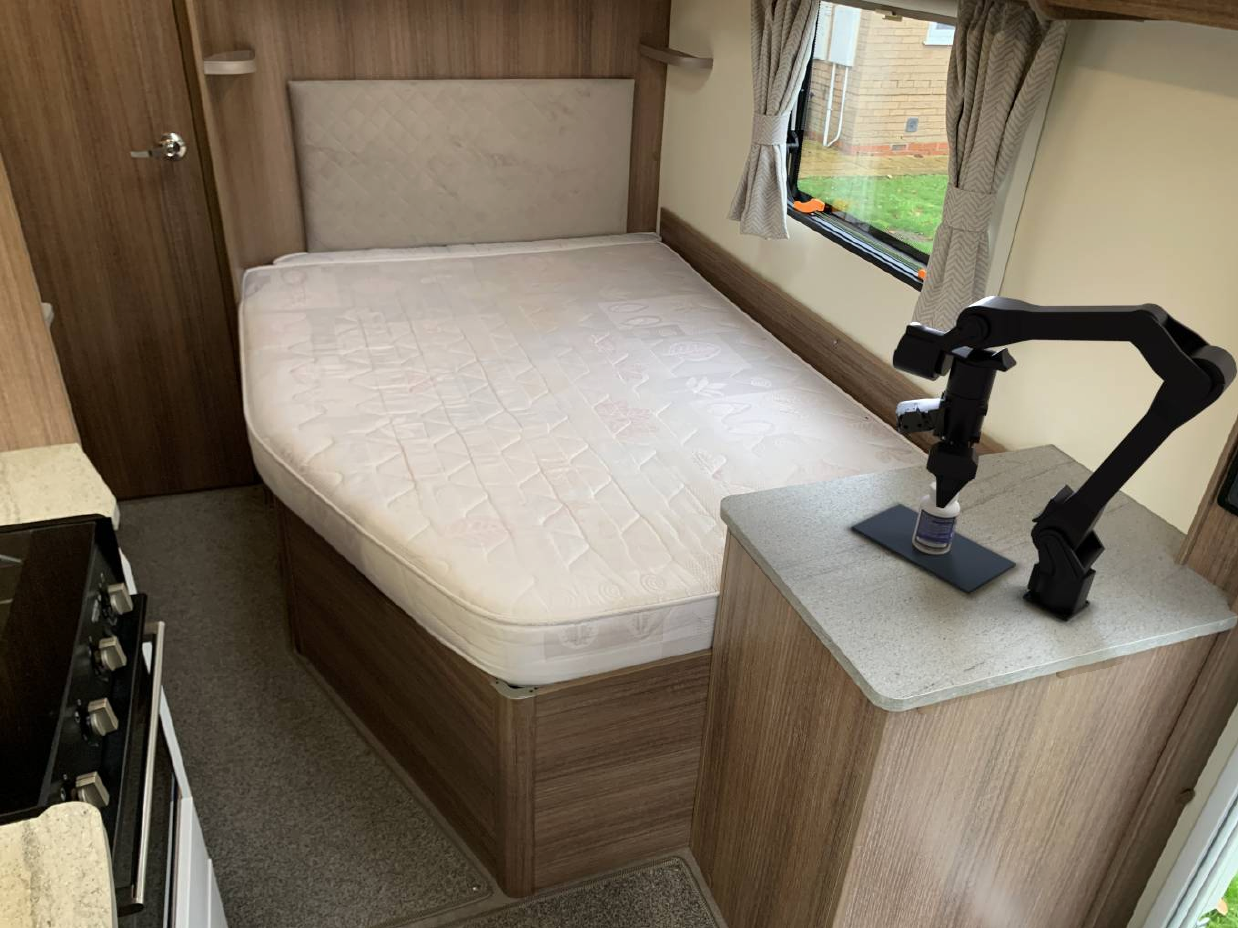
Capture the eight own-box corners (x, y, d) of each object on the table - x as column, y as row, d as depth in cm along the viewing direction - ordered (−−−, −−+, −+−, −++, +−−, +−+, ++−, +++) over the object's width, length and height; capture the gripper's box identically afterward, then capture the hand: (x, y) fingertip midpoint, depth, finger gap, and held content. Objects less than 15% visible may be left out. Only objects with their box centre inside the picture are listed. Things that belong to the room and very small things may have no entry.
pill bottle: (954, 557, 136) (969, 498, 132) (916, 554, 136) (931, 496, 131) (943, 536, 141) (958, 479, 136) (907, 534, 141) (921, 477, 136)
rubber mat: (1015, 566, 136) (1016, 563, 136) (968, 594, 129) (968, 591, 129) (899, 506, 149) (900, 503, 149) (851, 529, 142) (851, 526, 142)
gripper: (913, 356, 137) (892, 452, 145) (899, 405, 122) (876, 509, 129) (994, 371, 134) (968, 468, 141) (990, 423, 118) (961, 529, 126)
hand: (942, 492), depth 134 cm, fingers open, 9 cm apart
